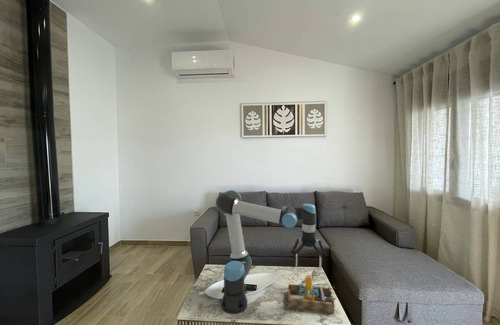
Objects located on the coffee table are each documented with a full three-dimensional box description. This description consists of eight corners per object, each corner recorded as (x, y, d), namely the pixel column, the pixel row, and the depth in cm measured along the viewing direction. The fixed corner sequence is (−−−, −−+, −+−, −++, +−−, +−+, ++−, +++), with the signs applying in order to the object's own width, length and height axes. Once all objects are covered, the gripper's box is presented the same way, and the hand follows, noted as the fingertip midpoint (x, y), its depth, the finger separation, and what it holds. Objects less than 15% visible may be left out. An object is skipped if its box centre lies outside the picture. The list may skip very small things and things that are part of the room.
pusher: (322, 309, 128) (322, 299, 128) (320, 295, 141) (320, 286, 141) (336, 311, 127) (336, 301, 126) (333, 297, 139) (333, 288, 139)
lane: (287, 307, 130) (287, 297, 130) (288, 291, 146) (288, 282, 146) (334, 313, 125) (334, 302, 125) (329, 295, 141) (329, 286, 141)
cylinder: (304, 309, 129) (303, 282, 129) (295, 298, 139) (295, 273, 139) (323, 305, 132) (322, 279, 132) (313, 294, 142) (313, 270, 142)
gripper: (286, 231, 134) (286, 267, 134) (332, 234, 129) (331, 271, 129) (287, 227, 141) (287, 261, 141) (329, 230, 136) (329, 265, 137)
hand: (308, 266), depth 135 cm, fingers open, 13 cm apart
